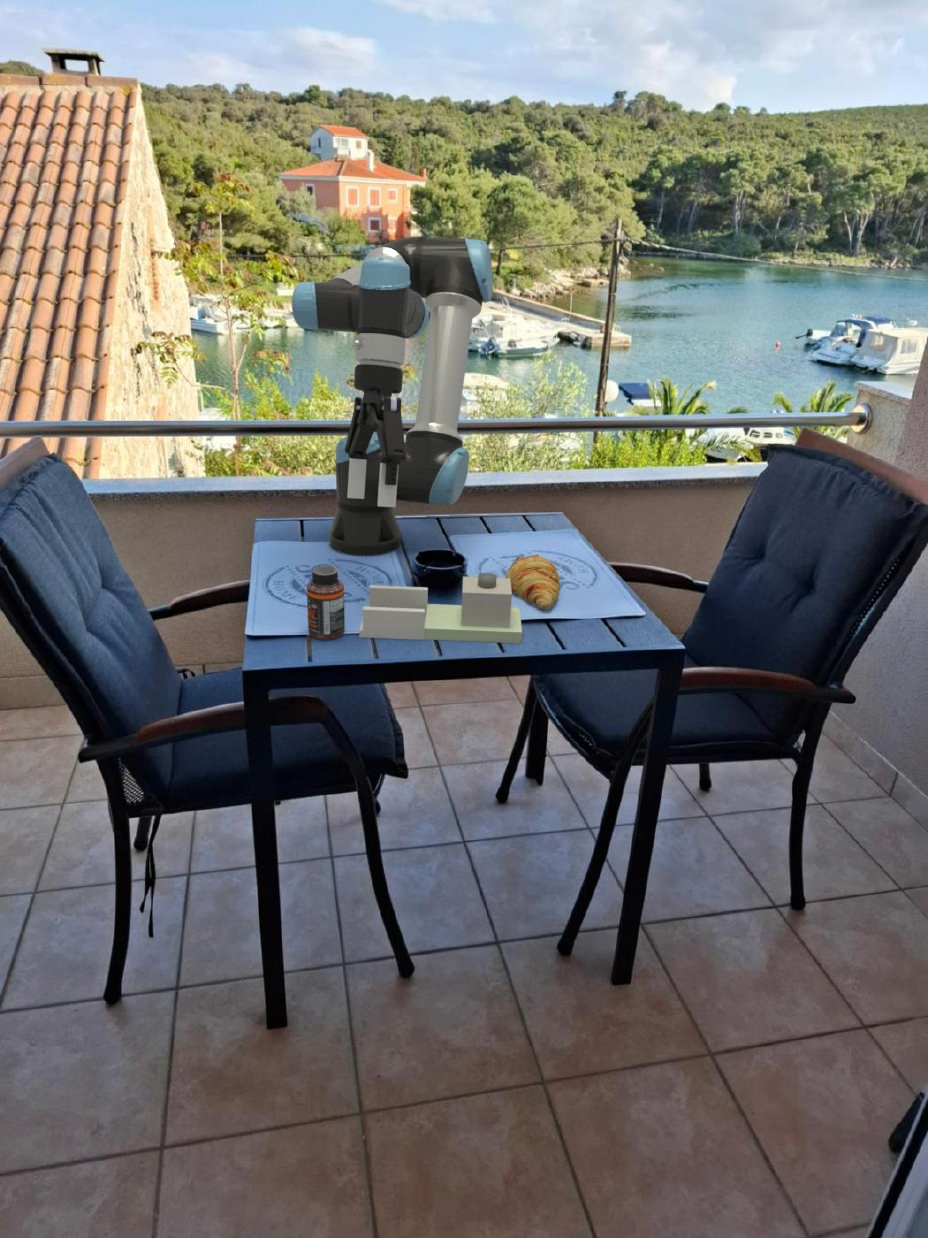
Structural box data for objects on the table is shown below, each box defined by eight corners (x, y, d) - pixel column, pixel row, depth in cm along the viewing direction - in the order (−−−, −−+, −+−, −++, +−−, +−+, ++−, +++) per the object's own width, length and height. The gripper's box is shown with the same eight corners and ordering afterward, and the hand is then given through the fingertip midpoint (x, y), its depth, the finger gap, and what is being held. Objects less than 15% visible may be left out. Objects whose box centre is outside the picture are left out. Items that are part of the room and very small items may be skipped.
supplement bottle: (301, 631, 138) (299, 567, 133) (333, 623, 141) (331, 560, 136) (319, 644, 133) (317, 579, 129) (351, 636, 137) (350, 571, 132)
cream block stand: (366, 611, 146) (366, 559, 142) (518, 617, 146) (522, 566, 142) (359, 637, 136) (358, 582, 132) (521, 643, 136) (525, 589, 132)
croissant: (560, 631, 150) (584, 594, 148) (514, 609, 147) (538, 571, 144) (530, 584, 169) (550, 551, 167) (488, 563, 165) (509, 529, 163)
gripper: (330, 365, 139) (323, 493, 143) (387, 358, 117) (377, 509, 121) (372, 371, 142) (364, 496, 146) (435, 365, 121) (423, 511, 125)
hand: (370, 502), depth 134 cm, fingers open, 13 cm apart
